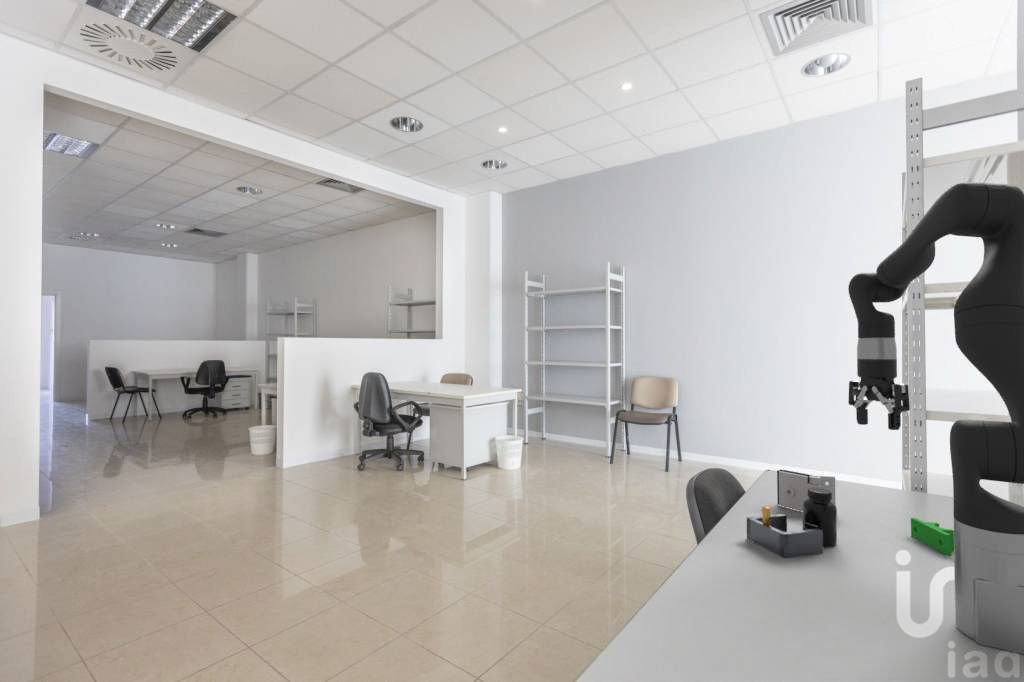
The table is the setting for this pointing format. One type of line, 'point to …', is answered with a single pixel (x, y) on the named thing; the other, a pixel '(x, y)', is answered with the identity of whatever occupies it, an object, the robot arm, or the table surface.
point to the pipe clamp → (933, 535)
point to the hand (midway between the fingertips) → (877, 426)
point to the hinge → (800, 487)
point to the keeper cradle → (783, 536)
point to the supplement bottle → (821, 514)
